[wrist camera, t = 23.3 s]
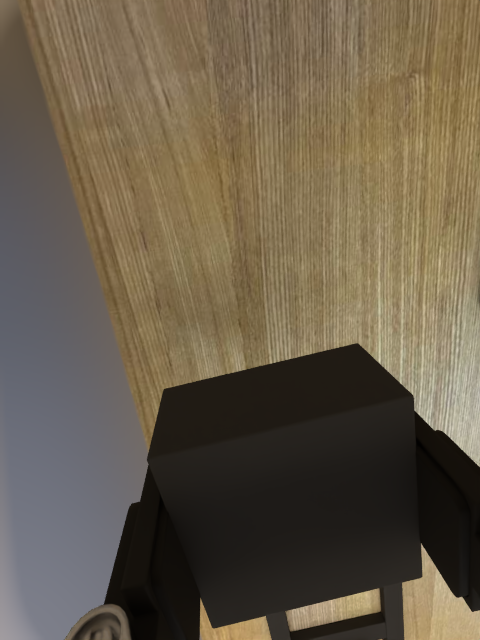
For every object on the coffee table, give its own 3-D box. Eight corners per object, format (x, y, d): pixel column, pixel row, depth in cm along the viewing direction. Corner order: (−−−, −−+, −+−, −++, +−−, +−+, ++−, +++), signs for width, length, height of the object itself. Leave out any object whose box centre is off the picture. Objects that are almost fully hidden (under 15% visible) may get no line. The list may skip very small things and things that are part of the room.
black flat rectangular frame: (287, 698, 42) (289, 709, 41) (257, 578, 35) (258, 588, 34) (401, 672, 42) (406, 683, 41) (395, 547, 35) (401, 557, 34)
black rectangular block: (211, 531, 12) (212, 630, 9) (162, 388, 10) (145, 459, 7) (374, 491, 12) (423, 578, 9) (357, 341, 10) (415, 395, 7)
